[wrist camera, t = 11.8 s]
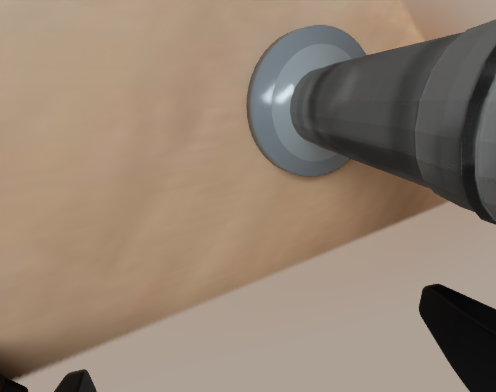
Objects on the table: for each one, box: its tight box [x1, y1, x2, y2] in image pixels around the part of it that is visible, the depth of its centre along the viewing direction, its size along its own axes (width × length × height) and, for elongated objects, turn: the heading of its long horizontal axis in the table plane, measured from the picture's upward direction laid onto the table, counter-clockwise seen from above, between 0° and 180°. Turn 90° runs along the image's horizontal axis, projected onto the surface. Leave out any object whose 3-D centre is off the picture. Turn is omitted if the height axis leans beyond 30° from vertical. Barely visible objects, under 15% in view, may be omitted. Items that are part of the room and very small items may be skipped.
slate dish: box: [247, 25, 366, 176], centre depth 22 cm, size 9×9×1 cm
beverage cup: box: [290, 20, 496, 224], centre depth 13 cm, size 7×7×20 cm
